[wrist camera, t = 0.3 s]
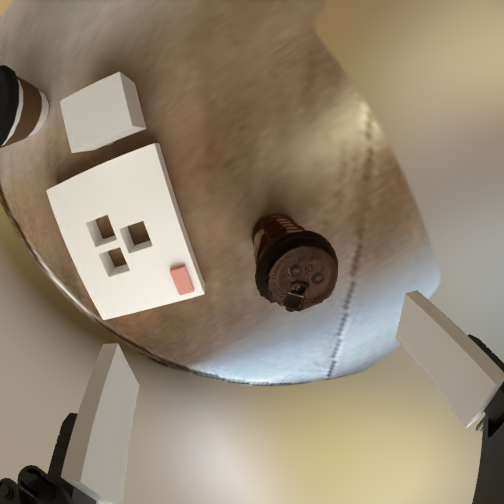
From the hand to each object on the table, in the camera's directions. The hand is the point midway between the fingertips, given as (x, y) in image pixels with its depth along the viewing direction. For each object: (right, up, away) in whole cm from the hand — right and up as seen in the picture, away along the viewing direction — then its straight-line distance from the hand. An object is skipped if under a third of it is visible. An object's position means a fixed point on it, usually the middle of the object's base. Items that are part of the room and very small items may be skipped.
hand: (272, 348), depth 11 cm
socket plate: (-18, +6, +23) cm, 30 cm away
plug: (-17, +21, +18) cm, 32 cm away
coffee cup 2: (+2, +6, +27) cm, 28 cm away
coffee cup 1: (-31, +24, +15) cm, 42 cm away
